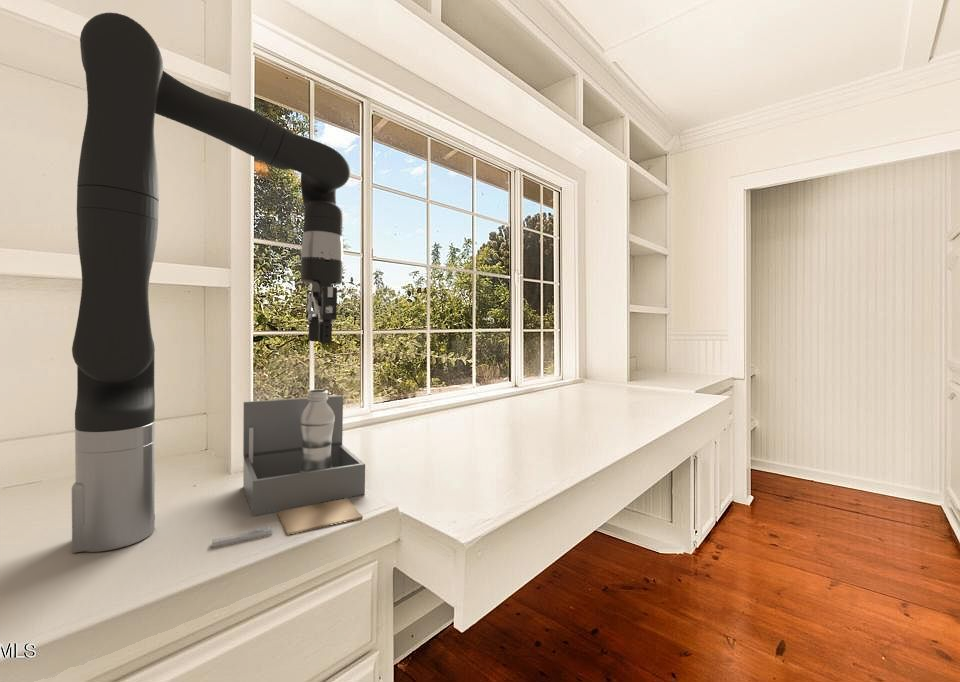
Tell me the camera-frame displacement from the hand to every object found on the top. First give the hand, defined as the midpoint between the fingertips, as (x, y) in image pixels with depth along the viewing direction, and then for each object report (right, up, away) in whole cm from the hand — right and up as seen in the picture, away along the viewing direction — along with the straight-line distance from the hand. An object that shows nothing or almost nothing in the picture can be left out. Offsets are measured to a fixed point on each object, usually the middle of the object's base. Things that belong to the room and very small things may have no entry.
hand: (319, 342), depth 86 cm
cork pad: (+4, -30, -10) cm, 32 cm away
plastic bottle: (-1, -30, +1) cm, 30 cm away
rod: (-5, -31, -18) cm, 36 cm away
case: (-4, -29, +2) cm, 30 cm away
